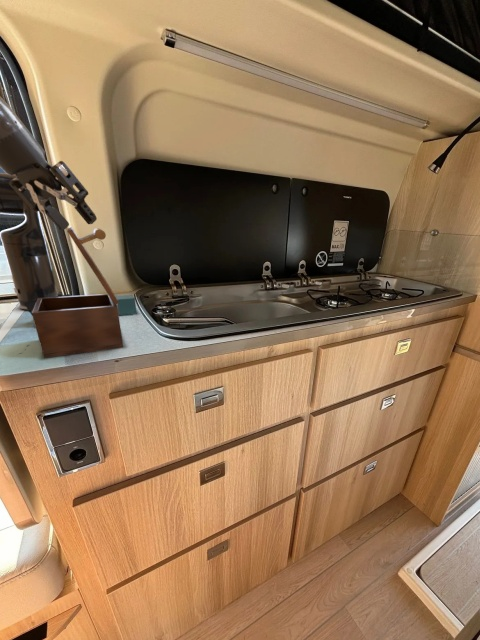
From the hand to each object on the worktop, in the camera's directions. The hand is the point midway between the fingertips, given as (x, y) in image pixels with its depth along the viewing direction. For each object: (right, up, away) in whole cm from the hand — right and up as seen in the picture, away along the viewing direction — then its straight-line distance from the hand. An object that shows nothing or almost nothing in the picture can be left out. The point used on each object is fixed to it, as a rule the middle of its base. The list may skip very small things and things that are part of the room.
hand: (79, 224), depth 59 cm
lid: (+4, -9, -2) cm, 10 cm away
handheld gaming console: (-12, -19, +13) cm, 26 cm away
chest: (0, -24, +3) cm, 24 cm away
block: (-1, -15, +23) cm, 28 cm away
